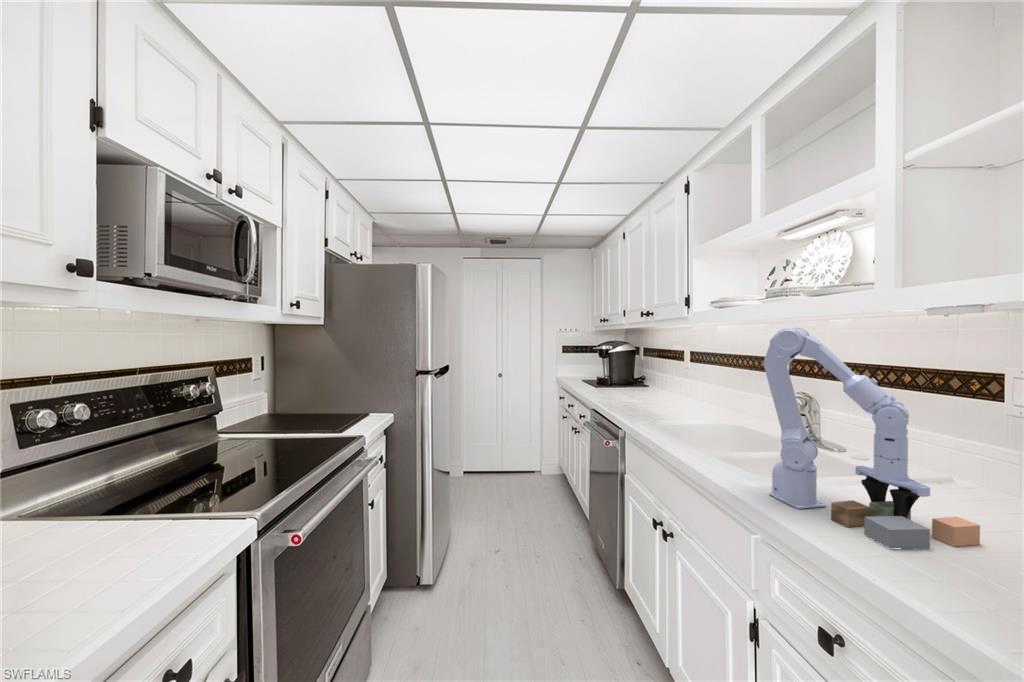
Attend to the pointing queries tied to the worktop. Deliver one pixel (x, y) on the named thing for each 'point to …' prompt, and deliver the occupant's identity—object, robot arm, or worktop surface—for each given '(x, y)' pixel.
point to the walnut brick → (849, 513)
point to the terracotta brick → (955, 531)
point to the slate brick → (897, 532)
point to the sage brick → (883, 509)
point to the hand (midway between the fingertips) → (889, 516)
